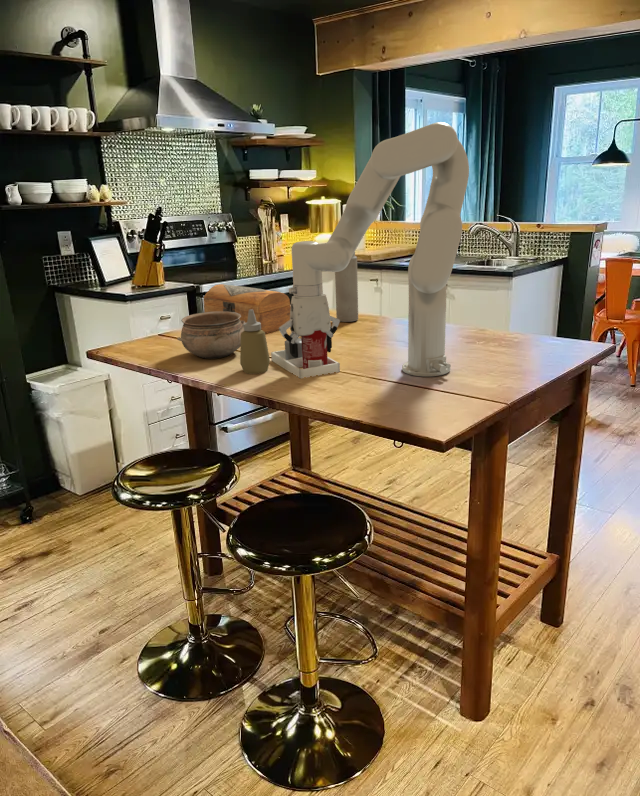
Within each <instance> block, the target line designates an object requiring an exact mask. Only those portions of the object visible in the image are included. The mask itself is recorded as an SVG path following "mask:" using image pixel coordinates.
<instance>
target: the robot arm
mask: <svg viewBox="0 0 640 796" xmlns="http://www.w3.org/2000/svg"><path fill="white" fill-rule="evenodd" d="M430 167H432V176H431V177H432V178H431V183H430V186H429V191H428V197H427V200H426V204H425V208H424V211H423V214H422V215H421V218H420V223H419V227H420V228H419V234H418V238H417V242H416V246H415V251H414V254H413V255H412V256H411V258H410V260H409V263H408V268H407V272H408V273H407V276H408V277H407V278H408V313H407V314H408V321H407V322H408V326H407V329H408V331H407V332H408V333H407V334H408V336H407V339H408V340H407V346H408V347H407V348H408V349H407V356H408V357H407V361H406V362H404V363H402V367H401V370H402V372H404V373H405V374H407V375H410V376H415V377H423V378H424V377H425V378H426V377H439V376H443V375H446V374H448V373H449V372H450V371H451V363H448V362H447V356H446V327H447V326H446V322H447V321H446V320H447V318H446V317H447V284H448V282H449V281H450V277H451V274H452V271H453V268H454V264H455V260H456V258H457V253H458V248H459V246H460V243H461V238H462V234H463V220H462V218H461V213H462V208H463V205H464V200H465V195H466V192H467V188H468V187H467V186H468V182H469V175H470V163H469V159H468V155H467V152H466V150H465V148H464V145H463V144H462V143H461V141H460V140H459V138H458V134H457V132H456V131H455V129H454V127H452V125H451V124H449V123H446V122H442V121H440V122H439V121H438V122H433V123H430V124H427V125H424V126H423V127H419V128H417V129H414V130H410V131H409V132H406V133H403V134H399V135H398V136H395V137H391V138H386V139H384V140H382V141H380V142H379V143H377V145H375V147H374V149H373V150H372V153H371V156H370V158H369V160H368V161H367V163H366V165H365V167H364V169H363V170H362V173H361V174H360V176H359V178H358V180H357V181H356V183H355V185H354V187H353V188H352V191H351V192H350V194H349V196H348V199H347V201H346V203H345V208H344V210H343V213H342V214H341V217H340V219H339V220H338V221H337V224H336V226H335V228H334V230H333V232H332V233H331V234H330V237H329V239H328V241H327V242H324V243H319V242H317V241H314V240H304V241H303V240H302V241H298V242H297V241H296V242H294V243H293V244H292V245H291V263H292V264H291V265H292V280H293V281H292V283H293V284H292V287H291V288H288V293H289V294H293V296H291V299H290V320H289V321H287V322H286V323H285V324H283V325H282V326H280V327H279V330H278V331H279V333H280V334H281V335H282V337H283V338H284V339H285V341H286V340H287V341H288V342H289V347H290V354H291V355H292V356H293V357H294V358H298V344H297V343H296V341H297V339H298V338H300V337H301V336H308V335H311V334H313V333H314V331H313V330H316V329H322V330H321V331H322V332H325V333H327V353H331V352H332V347H333V341H332V340H333V339H332V338H333V337H334V335H335V333H336V332H337V330H338V327H339V326H340V322H341V321H340V320H339V319H337V317H335V316H332V315H331V313H330V308H329V307H330V306H329V303H328V297H327V294H324V292H323V291H324V290H323V289H324V288H323V271H324V272H330V273H335V272H339V271H342V270H344V269H345V268H346V267H347V266H348V264H349V262H350V260H351V258H352V256H353V254H354V252H355V253H356V250H357V248H358V246H359V245H360V243H361V241H362V240H363V238H364V236H365V234H366V233H367V231H368V230H369V228H370V226H371V225H372V224H373V223H374V222H375V221H376V219H377V218H378V217H379V215H380V213H381V211H382V210H383V209H384V208H383V207H384V206H385V204H386V203H387V201H388V199H389V197H390V196H391V194H392V192H393V190H394V188H395V187H396V185H397V183H398V181H399V180H400V178H401V177H402V176H405V175H408V174H411V173H415V172H417V171H421V170H423V169H426V168H430ZM331 323H332V324H331ZM288 329H290V334H289V333H288V332H287V330H288Z"/></svg>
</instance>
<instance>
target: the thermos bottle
mask: <svg viewBox="0 0 640 796" xmlns="http://www.w3.org/2000/svg"><path fill="white" fill-rule="evenodd" d="M358 280H359V279H358V256H356V251H355V252H354V254H353V256H352V258H351V260H350V262H349V264H348V266H347V267H346V268H345V269H344V270H342V271H339V272H334V281H335V308H336V309H335V312H336V313H335V315H336V317H335V318H337V319H339V320H340V322H345V323H348V322H350V323H351V322H355V321H358V320H359V293H358V292H359V290H358V289H359V288H358V286H359V285H358V284H359V283H358Z"/></svg>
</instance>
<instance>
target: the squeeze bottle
mask: <svg viewBox="0 0 640 796" xmlns="http://www.w3.org/2000/svg"><path fill="white" fill-rule="evenodd" d="M243 326H244V330H245V331H243V332H242V333H241V346H240V347H239V348H240V350H239V351H240V353H239V354H240V355H239V357H240V358H239V359H240V361H239V362H240V363H239V364H240V366H241V368H242V370H243V372H244V373H245V374H248V375H249V374H250V375H258V374H264V373H266V372H267V371H268V369H269V365H270V361H271V360H270V359H271V358H270V353H269V348H268V341H267V336H266V333H265V332H264V331H263V330H260V329H261V323H260V322H257V321H256V318H255V314H254V311H253V310H249V312H248V320H247V323H244V324H243Z"/></svg>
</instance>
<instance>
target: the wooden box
mask: <svg viewBox="0 0 640 796" xmlns="http://www.w3.org/2000/svg"><path fill="white" fill-rule="evenodd" d="M290 307H291V299H290V298H289V296H288V295H287V294H285V293H284V292H281V291H275V290H267V289H262V288H256V287H249V286H241V285H230V284H222V283H221V284H219V283H218V284H215V285H213V286H211V287H210V289H209V290H208V291H207V292H206V293H205V295H204V296H203V309H204V311H203V313H204V312H215V311H226V312H235V313H238V314H240V315H241V317H240V318H239V320H240V321H245V323H247V320H248V312H249V310H253V311H254V314H255V318H256V321H257V322H260V323H261V329H260V330H263V331H264V332H265V334H268V333H272V332H277V331H279V327H280V326H282V325H283V324H285V323H286V322H287V321H289V320H290ZM242 324H243V323H242ZM244 331H245V330H244Z"/></svg>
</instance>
